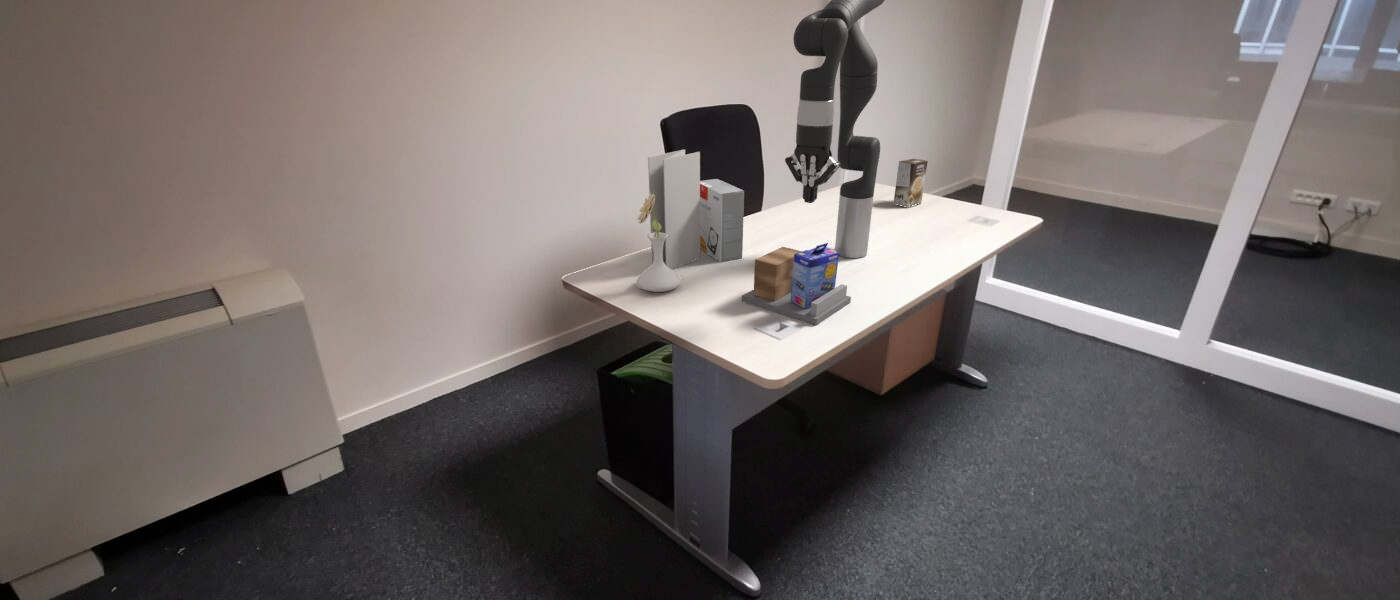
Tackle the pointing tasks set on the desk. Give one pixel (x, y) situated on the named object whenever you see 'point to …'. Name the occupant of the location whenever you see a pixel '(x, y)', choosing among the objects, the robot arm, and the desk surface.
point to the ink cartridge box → (813, 274)
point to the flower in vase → (656, 257)
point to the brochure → (676, 204)
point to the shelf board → (812, 315)
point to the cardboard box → (774, 273)
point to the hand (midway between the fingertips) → (809, 201)
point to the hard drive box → (721, 220)
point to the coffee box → (910, 182)
